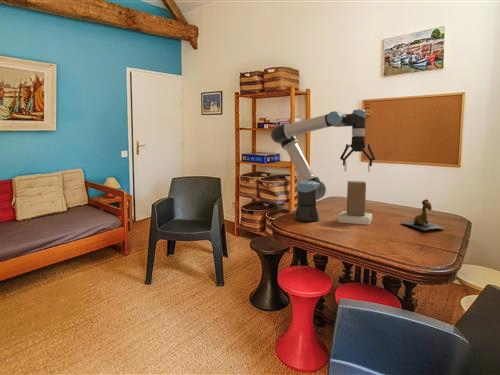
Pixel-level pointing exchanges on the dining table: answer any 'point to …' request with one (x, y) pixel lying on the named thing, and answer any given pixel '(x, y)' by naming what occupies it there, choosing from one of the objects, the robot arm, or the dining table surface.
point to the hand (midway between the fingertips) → (356, 171)
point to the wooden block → (356, 198)
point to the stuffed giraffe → (423, 218)
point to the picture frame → (355, 218)
